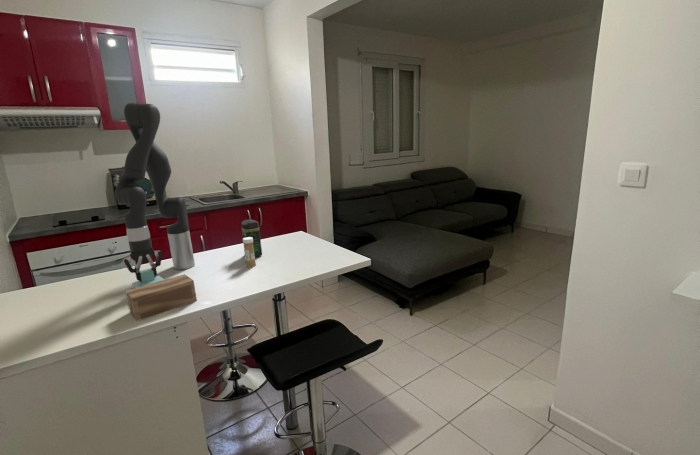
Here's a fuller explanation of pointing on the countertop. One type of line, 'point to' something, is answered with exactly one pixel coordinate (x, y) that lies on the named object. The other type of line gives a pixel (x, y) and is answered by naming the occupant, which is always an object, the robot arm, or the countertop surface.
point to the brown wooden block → (161, 296)
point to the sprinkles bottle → (249, 251)
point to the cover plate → (147, 278)
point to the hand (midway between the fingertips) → (147, 278)
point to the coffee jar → (252, 235)
